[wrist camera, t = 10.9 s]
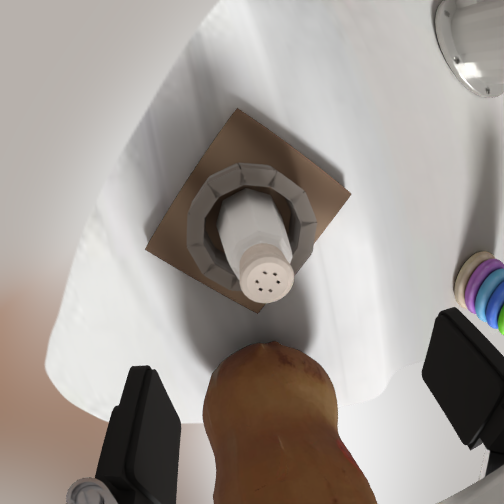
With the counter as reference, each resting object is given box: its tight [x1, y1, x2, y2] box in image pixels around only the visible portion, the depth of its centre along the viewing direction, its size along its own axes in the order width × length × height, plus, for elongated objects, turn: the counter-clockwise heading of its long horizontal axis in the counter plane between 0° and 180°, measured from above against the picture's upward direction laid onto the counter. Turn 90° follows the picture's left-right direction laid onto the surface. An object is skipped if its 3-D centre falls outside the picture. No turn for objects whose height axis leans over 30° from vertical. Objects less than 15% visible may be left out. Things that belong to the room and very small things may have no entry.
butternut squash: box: [203, 341, 377, 504], centre depth 22 cm, size 14×13×25 cm
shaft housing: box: [145, 108, 351, 314], centre depth 25 cm, size 14×12×5 cm
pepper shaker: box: [216, 188, 294, 303], centre depth 21 cm, size 5×5×11 cm
